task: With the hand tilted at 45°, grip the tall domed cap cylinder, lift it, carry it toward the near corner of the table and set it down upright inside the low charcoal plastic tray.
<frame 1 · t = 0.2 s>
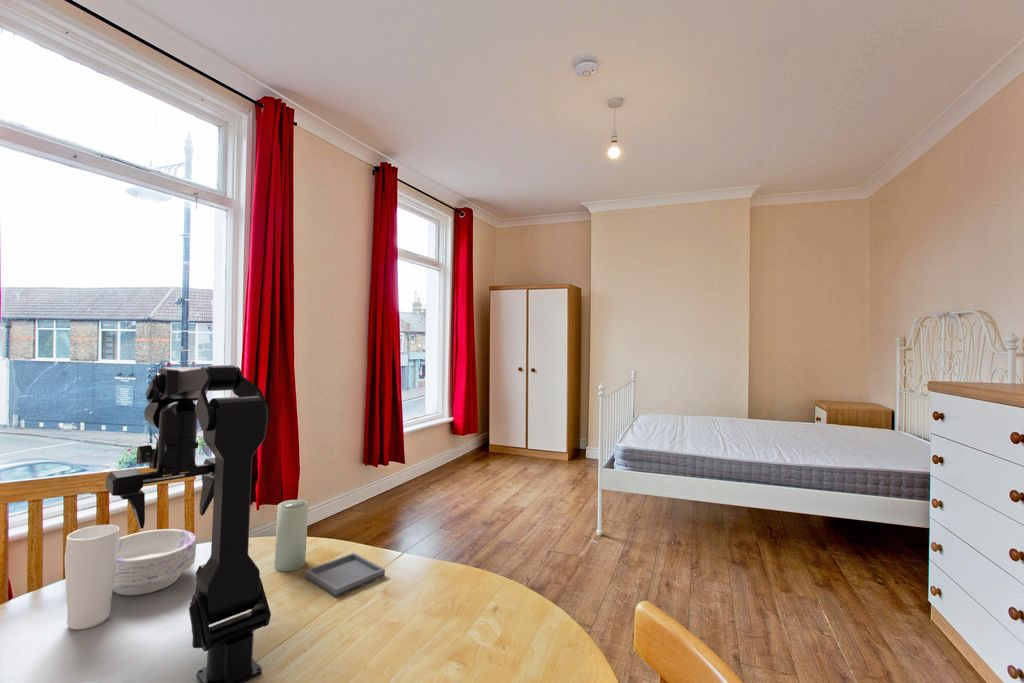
hand: (172, 521, 86), 14 cm above the table, tool pointing down, fingers open, 9 cm apart
paper bowls: (147, 584, 91), on the table
domed cap cylinder: (290, 564, 101), on the table
tray: (345, 576, 97), on the table
white vase: (88, 623, 78), on the table
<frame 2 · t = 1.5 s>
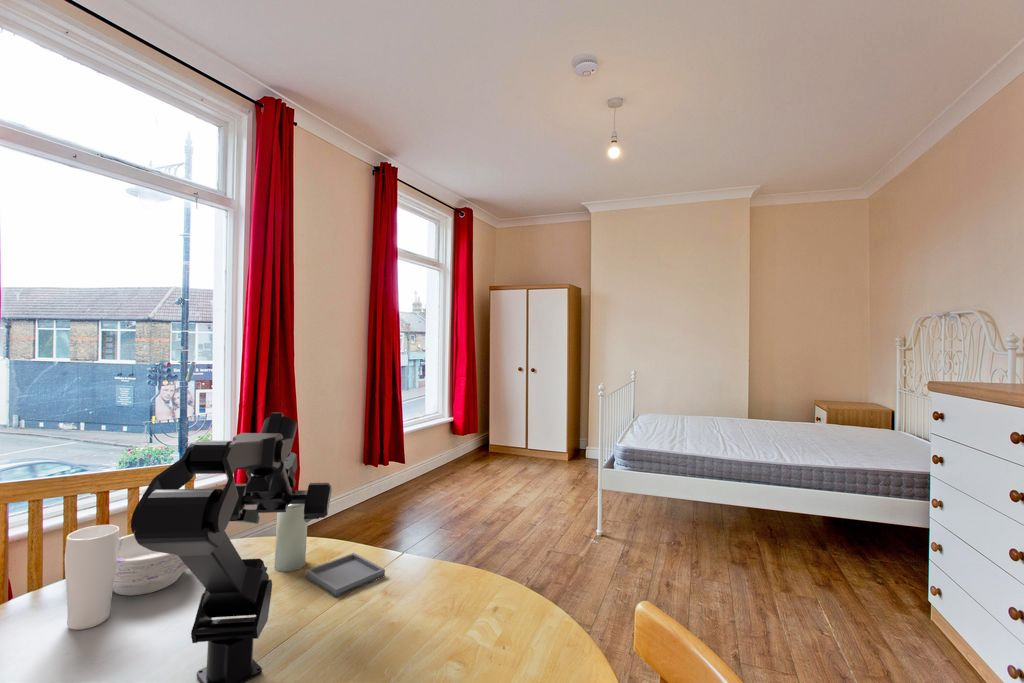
hand: (283, 520, 94), 12 cm above the table, tool tilted 45°, fingers open, 9 cm apart
nothing on the table moved.
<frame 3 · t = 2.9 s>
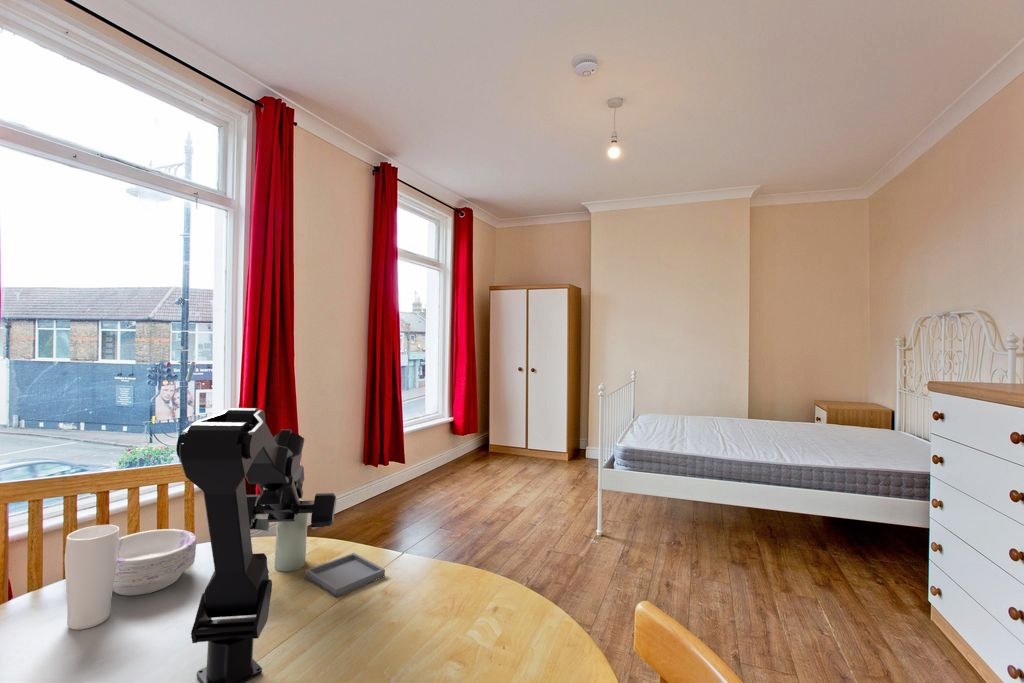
hand: (291, 527, 101), 8 cm above the table, tool tilted 45°, fingers open, 9 cm apart
nothing on the table moved.
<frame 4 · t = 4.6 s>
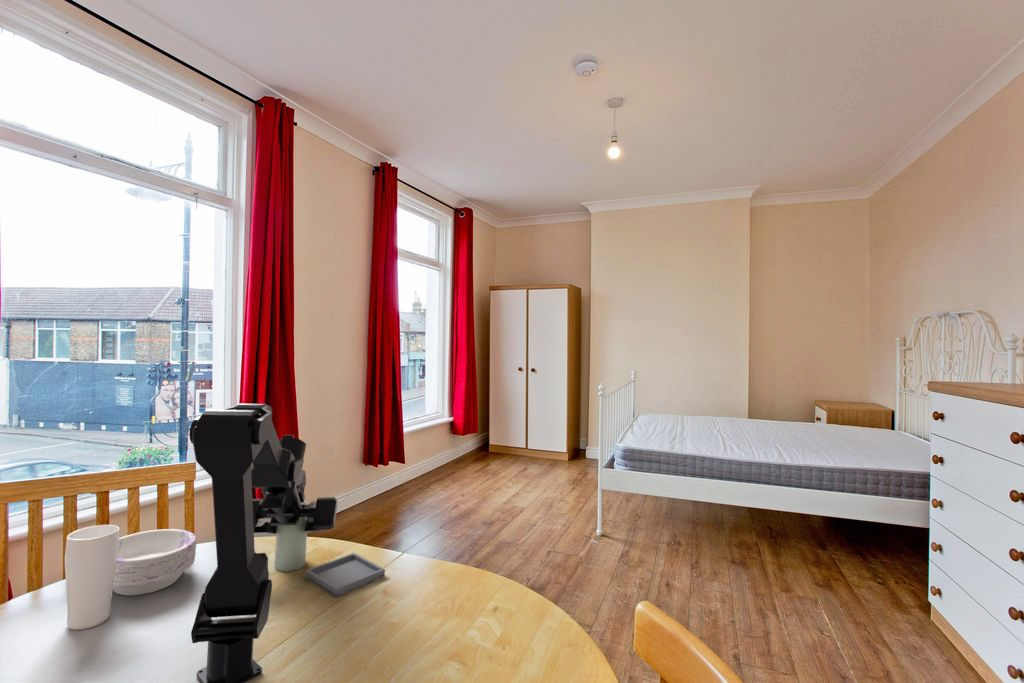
hand: (293, 531, 103), 7 cm above the table, tool tilted 45°, fingers closed on domed cap cylinder, 6 cm apart
domed cap cylinder: (290, 564, 101), on the table, touching gripper
everything else where it was.
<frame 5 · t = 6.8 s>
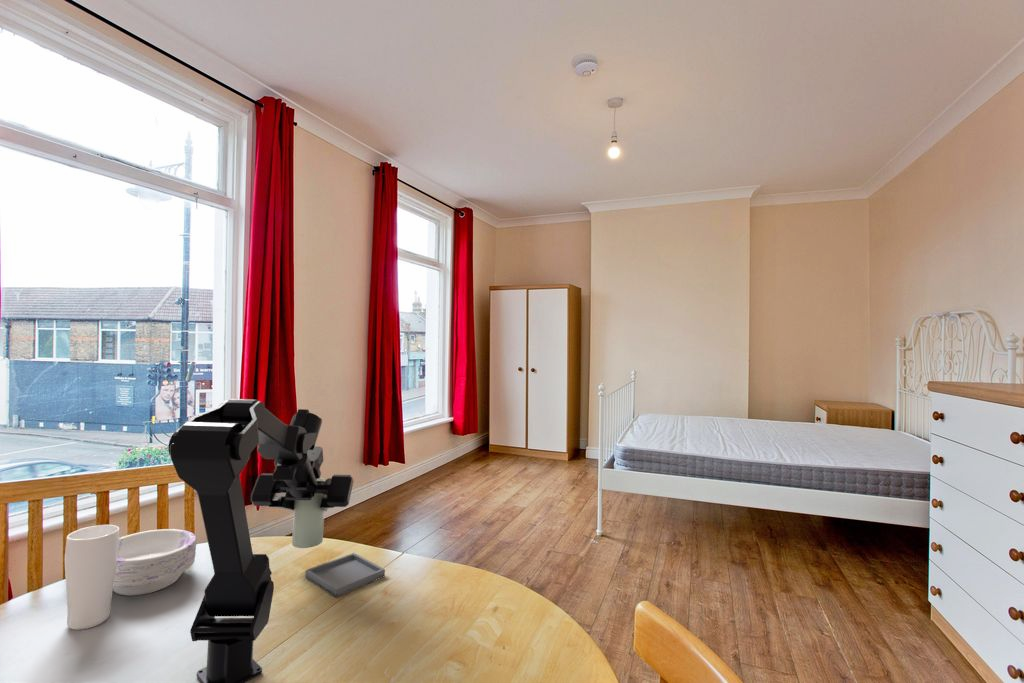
hand: (311, 508, 102), 12 cm above the table, tool tilted 45°, fingers closed on domed cap cylinder, 6 cm apart
domed cap cylinder: (307, 542, 101), point 5 cm above the table, touching gripper
everything else where it was.
when the fingers open (8 cm above the table, at t = 9.5 s): domed cap cylinder stays where it is, resting on tray.
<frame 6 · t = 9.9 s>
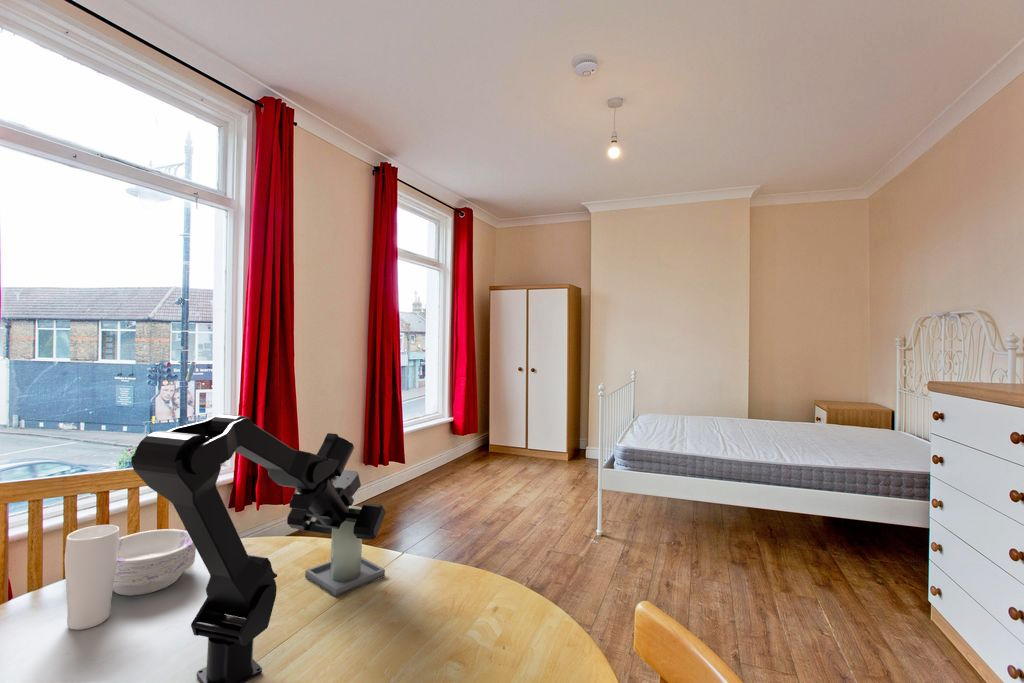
hand: (350, 534, 99), 8 cm above the table, tool tilted 45°, fingers open, 9 cm apart
domed cap cylinder: (345, 574, 97), point 1 cm above the table, touching tray
everything else where it was.
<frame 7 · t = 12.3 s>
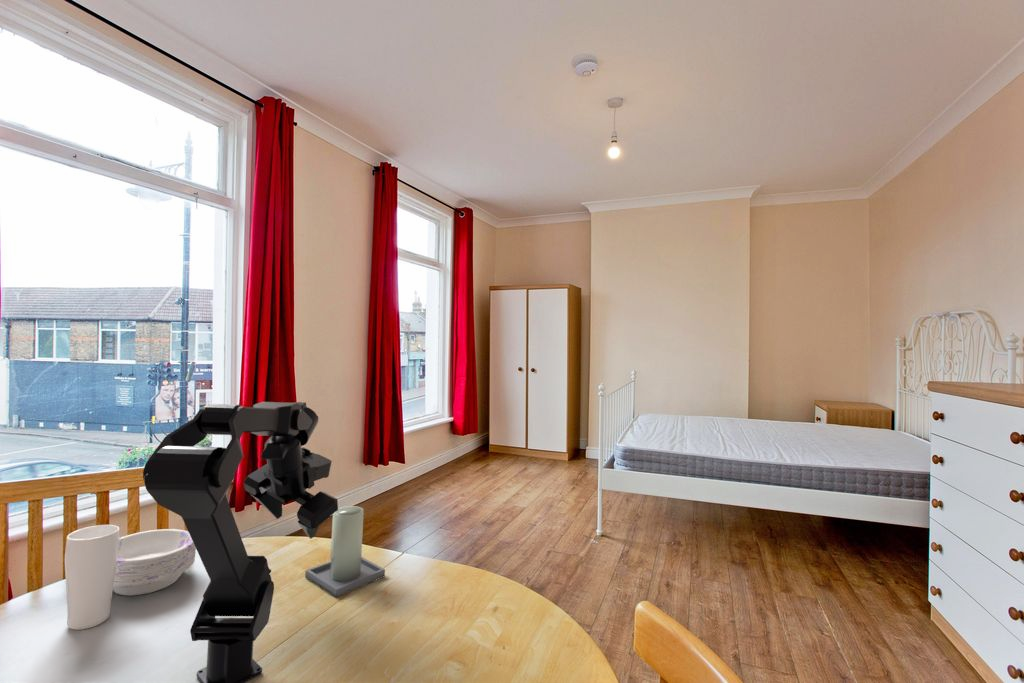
hand: (295, 526, 92), 12 cm above the table, tool tilted 25°, fingers open, 9 cm apart
nothing on the table moved.
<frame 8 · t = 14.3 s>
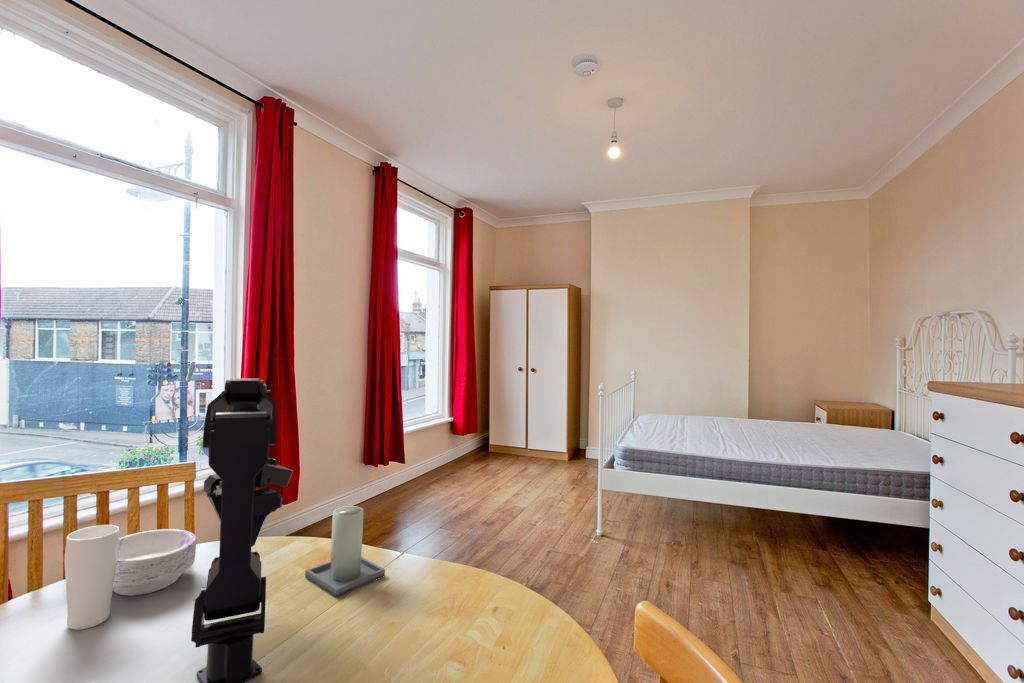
hand: (239, 538, 85), 12 cm above the table, tool pointing down, fingers open, 9 cm apart
nothing on the table moved.
at the end: domed cap cylinder inside the target area on the tray (0.0 cm from its centre), point 0.6 cm above the tray's base; domed cap cylinder tilted 0°; the gripper is holding nothing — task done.
